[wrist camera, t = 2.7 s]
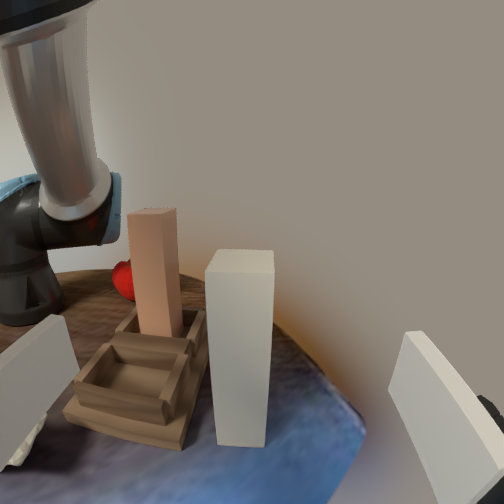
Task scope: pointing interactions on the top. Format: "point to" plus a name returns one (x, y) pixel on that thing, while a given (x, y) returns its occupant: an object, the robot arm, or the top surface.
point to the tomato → (124, 279)
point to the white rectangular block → (240, 342)
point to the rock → (27, 444)
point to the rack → (143, 383)
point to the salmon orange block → (156, 271)
